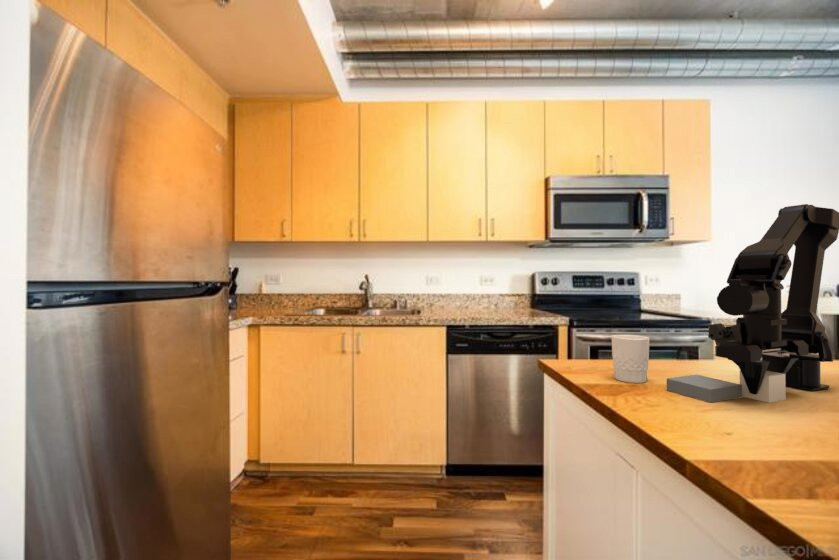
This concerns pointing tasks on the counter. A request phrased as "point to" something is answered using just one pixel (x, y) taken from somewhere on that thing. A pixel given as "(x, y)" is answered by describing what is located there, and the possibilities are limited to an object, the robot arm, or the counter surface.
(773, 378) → the cube
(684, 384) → the base
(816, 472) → the counter surface
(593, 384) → the counter surface
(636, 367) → the white cup
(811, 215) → the robot arm
